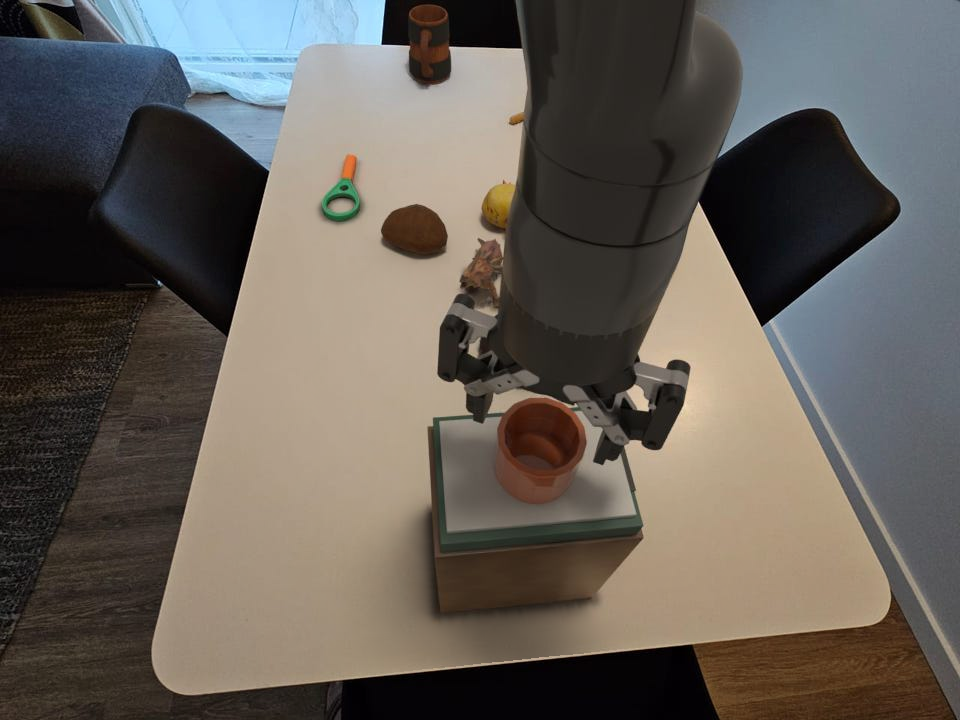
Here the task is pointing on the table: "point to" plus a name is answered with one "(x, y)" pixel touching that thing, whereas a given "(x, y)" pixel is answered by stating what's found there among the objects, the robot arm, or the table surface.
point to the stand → (522, 567)
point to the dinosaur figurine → (484, 268)
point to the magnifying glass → (343, 192)
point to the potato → (415, 229)
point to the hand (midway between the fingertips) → (541, 431)
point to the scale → (509, 522)
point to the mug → (429, 44)
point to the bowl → (538, 450)
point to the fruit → (498, 204)
